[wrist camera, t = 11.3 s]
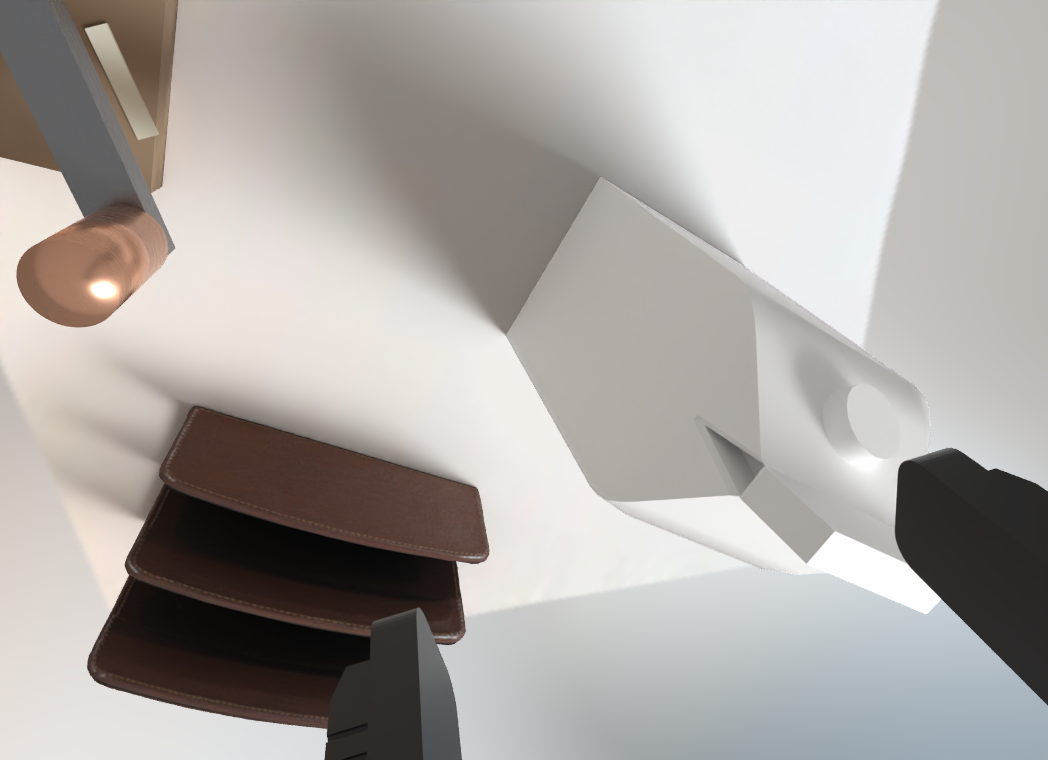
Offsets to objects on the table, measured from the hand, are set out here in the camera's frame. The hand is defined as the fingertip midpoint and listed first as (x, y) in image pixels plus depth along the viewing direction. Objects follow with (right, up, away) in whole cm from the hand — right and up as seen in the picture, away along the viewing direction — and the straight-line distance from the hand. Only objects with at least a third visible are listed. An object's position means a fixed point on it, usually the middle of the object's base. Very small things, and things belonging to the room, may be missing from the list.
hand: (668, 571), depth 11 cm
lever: (-21, +16, +16) cm, 31 cm away
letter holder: (-16, -6, +36) cm, 40 cm away
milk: (+4, +8, +33) cm, 35 cm away
